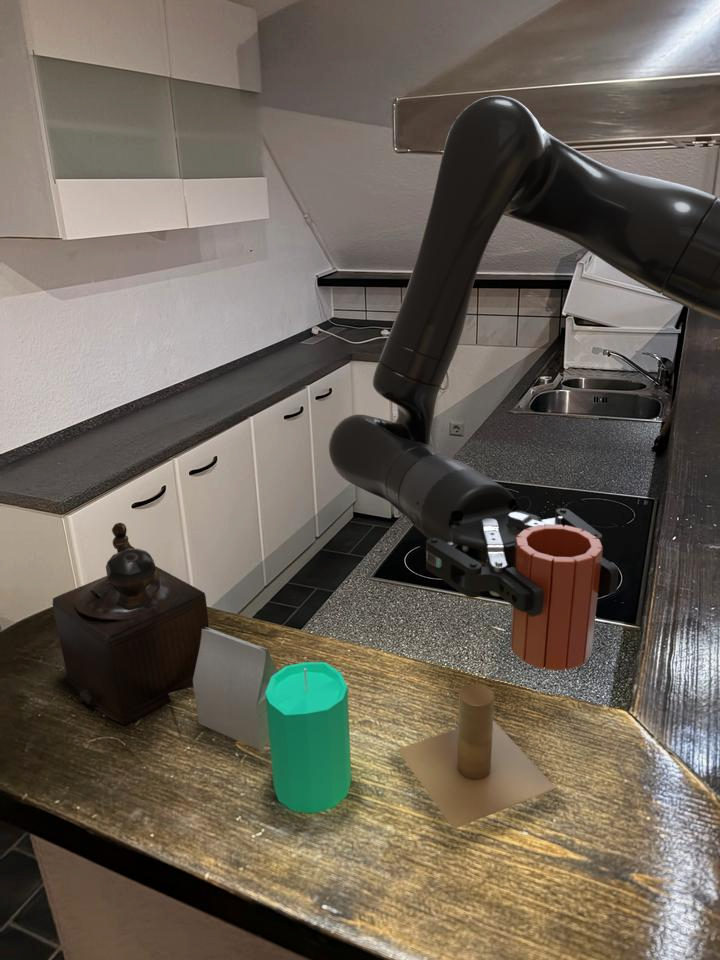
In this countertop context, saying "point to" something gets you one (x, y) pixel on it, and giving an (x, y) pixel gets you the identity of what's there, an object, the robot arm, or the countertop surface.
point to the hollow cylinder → (557, 596)
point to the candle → (309, 736)
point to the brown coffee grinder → (130, 634)
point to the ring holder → (474, 764)
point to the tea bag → (233, 687)
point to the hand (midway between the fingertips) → (577, 593)
